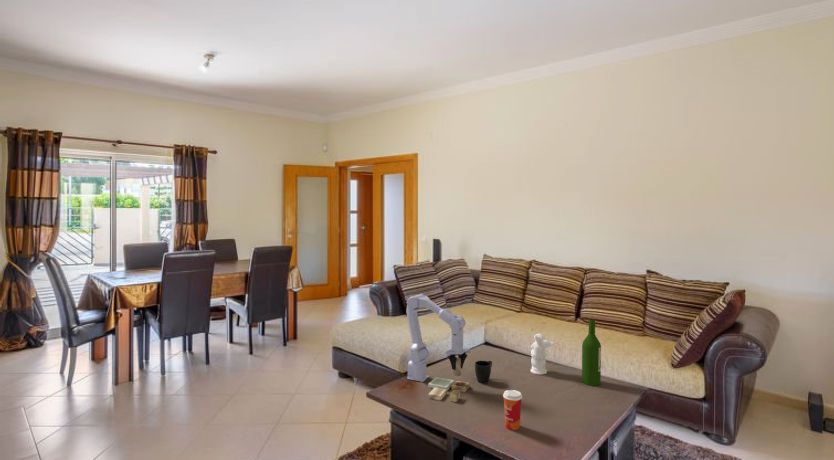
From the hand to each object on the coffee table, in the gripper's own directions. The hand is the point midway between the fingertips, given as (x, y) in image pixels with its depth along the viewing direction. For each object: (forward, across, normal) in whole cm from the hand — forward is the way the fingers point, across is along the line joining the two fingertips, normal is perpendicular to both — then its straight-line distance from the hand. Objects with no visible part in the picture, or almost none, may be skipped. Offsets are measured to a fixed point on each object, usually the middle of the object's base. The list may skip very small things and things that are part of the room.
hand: (457, 368), depth 213 cm
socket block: (+10, +1, -1) cm, 10 cm away
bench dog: (+10, -8, -11) cm, 17 cm away
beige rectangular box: (+10, -13, -4) cm, 17 cm away
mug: (+10, +18, +1) cm, 21 cm away
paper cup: (+10, -1, -43) cm, 44 cm away
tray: (+10, -6, +6) cm, 13 cm away
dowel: (+3, 0, 0) cm, 3 cm away
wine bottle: (+10, +64, -27) cm, 70 cm away
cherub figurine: (+10, +51, -5) cm, 53 cm away
